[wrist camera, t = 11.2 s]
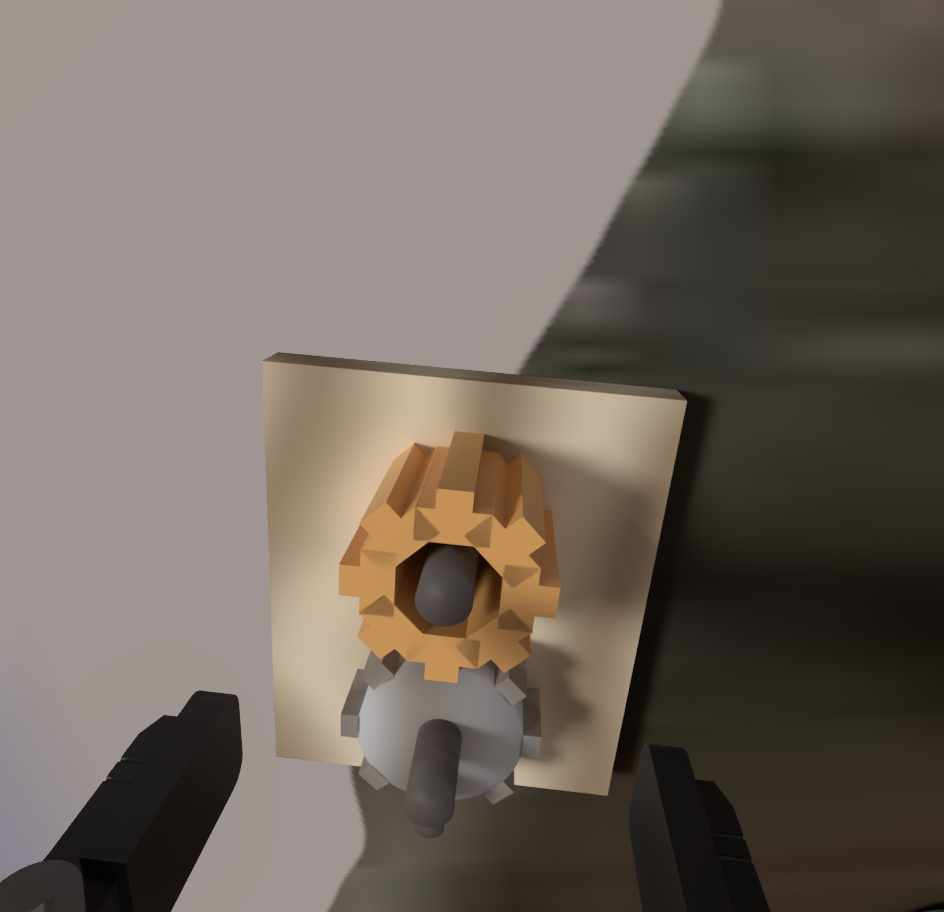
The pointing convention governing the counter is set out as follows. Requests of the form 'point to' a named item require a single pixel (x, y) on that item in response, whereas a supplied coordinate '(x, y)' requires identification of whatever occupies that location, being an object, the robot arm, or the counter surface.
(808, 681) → the counter surface
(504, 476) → the orange gear
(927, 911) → the soda can
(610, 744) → the gear board
